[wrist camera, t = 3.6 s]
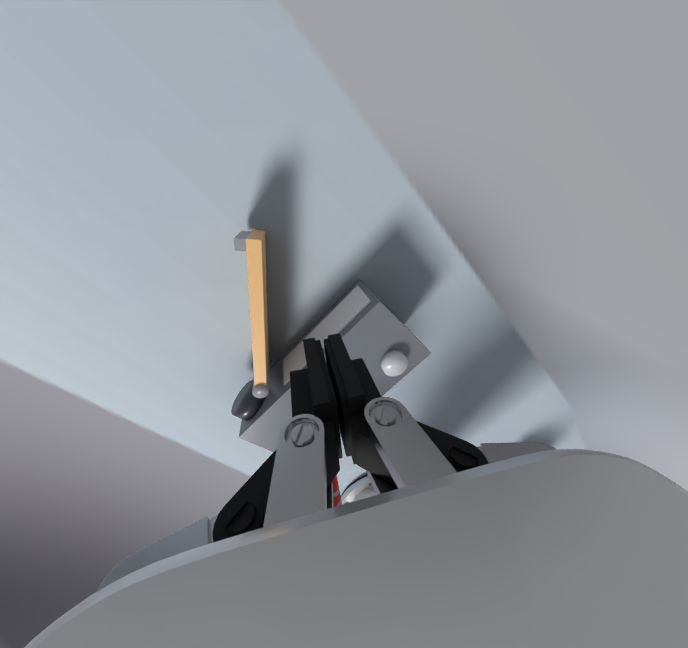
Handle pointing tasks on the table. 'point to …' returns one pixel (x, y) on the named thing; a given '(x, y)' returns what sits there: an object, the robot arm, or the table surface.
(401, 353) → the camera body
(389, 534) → the robot arm
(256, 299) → the tall beige panel
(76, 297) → the table surface
